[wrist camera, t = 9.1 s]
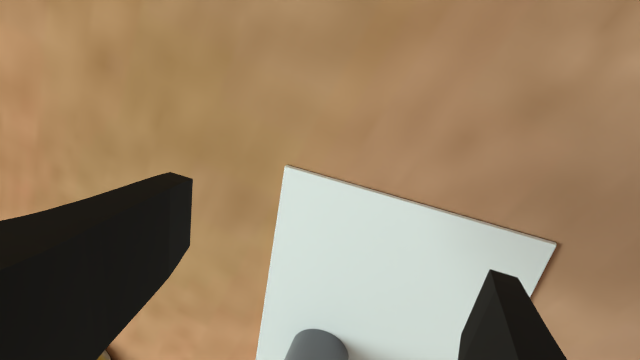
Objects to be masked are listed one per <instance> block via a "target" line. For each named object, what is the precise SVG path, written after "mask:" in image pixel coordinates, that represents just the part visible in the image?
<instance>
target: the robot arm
mask: <svg viewBox="0 0 640 360" xmlns="http://www.w3.org/2000/svg"><path fill="white" fill-rule="evenodd" d="M192 183H193V179H191V178H188V177H184V176H181V175H178V174H175V173H171V172H169V173H165V174H161V175H157V176H154V177H151V178H148V179H145V180H142V181H139V182H136V183H133V184H130V185H127V186H124V187H121V188H118V189H115V190H111V191H108V192H105V193H102V194H99V195H96V196H93V197H90V198H87V199H83V200H80V201H76V202H73V203H70V204H66V205H63V206H59V207H56V208H52V209H49V210H45V211H42V212H38V213H34V214H29V215H25V216H21V217H16V218H12V219H7V220H2V221H0V360H97V359H98V358H99V357H100V355H101V354H102V353H103V352H104V350H105V349H106V348H107V347H108V346H109V344H110V343H111V342H112V341H113V340H114V339H115V338H116V337H117V335H118V334H119V333H120V332H121V331H122V330H123V329H124V328H125V327H126V325H127V324H128V323H129V322H130V321H131V320H132V319H133V318H134V316H135V315H136V314H137V313H138V312H139V311H140V310H141V309H142V307H143V306H144V305H145V304H146V303H147V302H148V301H149V300H150V298H151V297H152V296H153V295H154V294H155V293H156V292H157V291H158V289H159V288H160V287H161V286H162V285H163V284H164V282H165V281H166V280H167V279H168V278H169V276H170V275H171V273H172V272H173V271H174V269H175V268H176V266H177V265H178V263H179V262H180V260H181V259H182V257H183V256H184V254H185V252H186V251H187V249H188V248H189V246H190V229H191V206H192ZM458 360H567V359H566V357H565V356H564V354H563V353H562V351H561V349H560V348H559V346H558V345H557V343H556V341H555V340H554V338H553V337H552V335H551V333H550V332H549V330H548V328H547V327H546V325H545V323H544V322H543V320H542V318H541V317H540V315H539V313H538V311H537V310H536V308H535V306H534V305H533V303H532V301H531V299H530V297H529V296H528V294H527V292H526V290H525V289H524V287H523V285H522V284H521V282H520V280H519V279H518V277H515V276H511V275H508V274H505V273H501V272H498V271H495V270H491V269H489V272H488V274H487V276H486V279H485V281H484V283H483V285H482V288H481V290H480V292H479V295H478V297H477V299H476V301H475V304H474V306H473V308H472V311H471V313H470V315H469V317H468V320H467V322H466V324H465V327H464V329H463V331H462V333H461V338H460V346H459V354H458Z"/></svg>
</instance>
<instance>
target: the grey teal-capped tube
mask: <svg viewBox="0 0 640 360" xmlns="http://www.w3.org/2000/svg"><path fill="white" fill-rule="evenodd" d="M284 360H348V351H347V349H346V347H345V345H344V344H343V343H342V341H341V340H340V339H338V338H337V337H336V336H334V335H333V334H331V333H329V332H327V331H324V330H320V329H306V330H303V331H301V332H299V333H298V334H296V336H295V337H294V339H293V341H292V343H291V345H290V348H289V350H288V352H287V354H286V357H285V359H284Z"/></svg>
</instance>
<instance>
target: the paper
mask: <svg viewBox="0 0 640 360" xmlns="http://www.w3.org/2000/svg"><path fill="white" fill-rule="evenodd" d="M555 247H556V242H552V241H549V240H545V239H542V238H538V237H535V236H531V235H528V234H525V233H521V232H518V231H514V230H511V229H507V228H504V227H500V226H497V225H493V224H490V223H486V222H483V221H480V220H476V219H473V218H469V217H466V216H462V215H459V214H455V213H452V212H448V211H445V210H442V209H438V208H435V207H431V206H428V205H424V204H421V203H417V202H414V201H410V200H407V199H404V198H400V197H397V196H393V195H390V194H386V193H383V192H379V191H376V190H372V189H369V188H365V187H362V186H359V185H355V184H352V183H348V182H345V181H341V180H338V179H334V178H331V177H327V176H324V175H321V174H317V173H314V172H310V171H307V170H303V169H300V168H296V167H293V166H289V165H286V166H285V169H284V176H283V182H282V189H281V196H280V202H279V209H278V216H277V222H276V229H275V235H274V242H273V249H272V255H271V262H270V269H269V275H268V282H267V289H266V295H265V302H264V308H263V315H262V322H261V328H260V335H259V342H258V348H257V355H256V360H284V359H285V357H286V354H287V352H288V350H289V348H290V345H291V343H292V341H293V339H294V337H295V336H296V334H298V333H299V332H301V331H303V330H306V329H320V330H324V331H327V332H329V333H331V334H333V335H334V336H336V337H337V338H338V339H340V340H341V341H342V343H343V344H344V345H345V347H346V349H347V351H348V360H458V354H459V346H460V338H461V333H462V331H463V329H464V327H465V324H466V322H467V320H468V317H469V315H470V313H471V311H472V308H473V306H474V304H475V301H476V299H477V297H478V295H479V292H480V290H481V288H482V285H483V283H484V281H485V279H486V276H487V274H488V272H489V269H491V270H495V271H498V272H501V273H505V274H508V275H511V276H515V277H518V279H519V280H520V282H521V284H522V285H523V287H524V289H525V290H526V292H527V294H528V296H529V297H530V296H531V294H532V292H533V290H534V288H535V286H536V284H537V282H538V281H539V279H540V277H541V275H542V273H543V271H544V269H545V267H546V265H547V263H548V261H549V259H550V257H551V255H552V253H553V251H554V249H555Z"/></svg>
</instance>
